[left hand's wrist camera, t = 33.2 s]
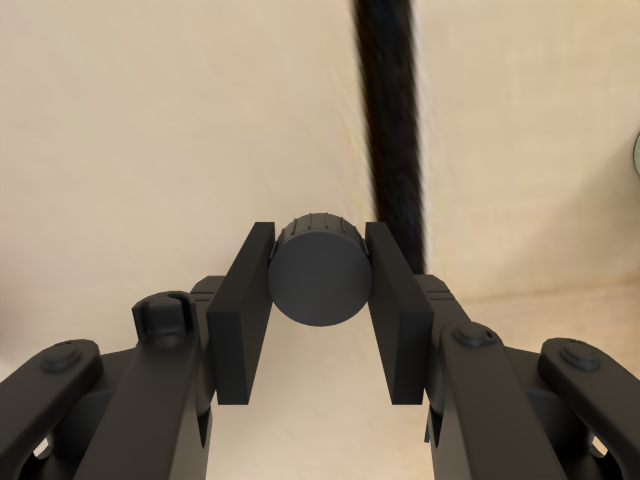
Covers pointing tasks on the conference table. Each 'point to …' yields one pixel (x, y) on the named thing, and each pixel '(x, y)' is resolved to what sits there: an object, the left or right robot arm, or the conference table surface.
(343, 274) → the cap
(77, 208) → the conference table surface
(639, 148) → the bottle
